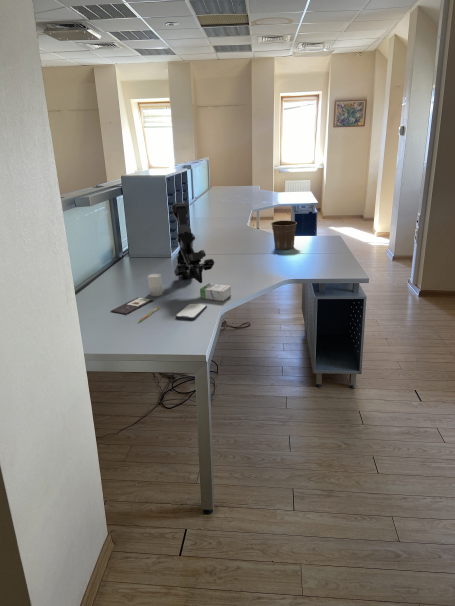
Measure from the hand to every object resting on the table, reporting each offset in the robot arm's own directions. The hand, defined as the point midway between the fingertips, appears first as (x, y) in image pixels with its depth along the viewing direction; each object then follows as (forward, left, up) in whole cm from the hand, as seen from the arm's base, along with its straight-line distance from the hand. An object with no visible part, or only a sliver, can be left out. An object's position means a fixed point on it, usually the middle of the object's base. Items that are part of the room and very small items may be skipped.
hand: (201, 282), depth 204 cm
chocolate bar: (-8, -31, -7) cm, 33 cm away
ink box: (0, +1, -4) cm, 5 cm away
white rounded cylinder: (-17, -16, -7) cm, 24 cm away
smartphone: (+15, -13, -7) cm, 21 cm away
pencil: (+7, -29, -7) cm, 31 cm away
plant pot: (-50, +85, -7) cm, 99 cm away
